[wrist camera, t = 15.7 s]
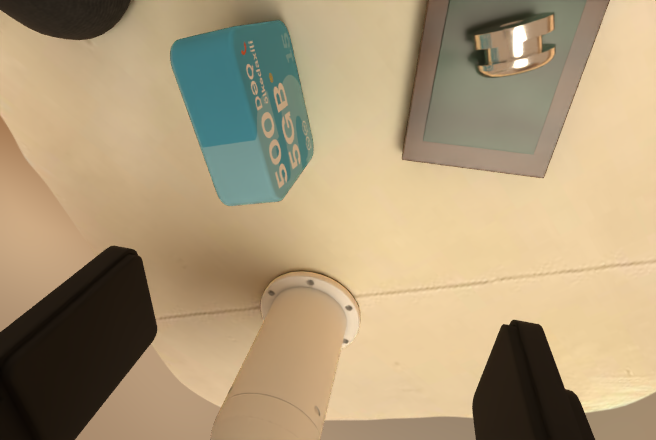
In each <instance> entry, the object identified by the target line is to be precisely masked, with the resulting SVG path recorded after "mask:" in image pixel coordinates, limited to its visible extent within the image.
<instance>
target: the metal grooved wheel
mask: <svg viewBox="0 0 656 440" xmlns="http://www.w3.org/2000/svg"><path fill="white" fill-rule="evenodd" d="M554 29H555V13H554V12H546V13H540V14H535V15H530V16H525V17H521V18H517V19H513V20H510V21H506V22H502V23H499V24H496V25H493V26H489V27H486V28H484V29H481V30H478V31H476V32H474V33H472V34H471V37H472V46H473V49H474V50H483V49H484V55H485V57H484V58H482V59H480V60H478V61H477V62H475V70H476V73H477V74H478V75H479V76H481V77H484V78H501V77H508V76H513V75H518V74H522V73H526V72H529V71H533V70H535V69H538V68H540V67H543V66H545V65H546V64H548V63H549V62H550V61H551V60H552V59H553V58H554V56H555V53H556V45H555V44H550V43H546V44H543V35H544V34H547V33H549V32H551V31H553V30H554Z"/></svg>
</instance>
